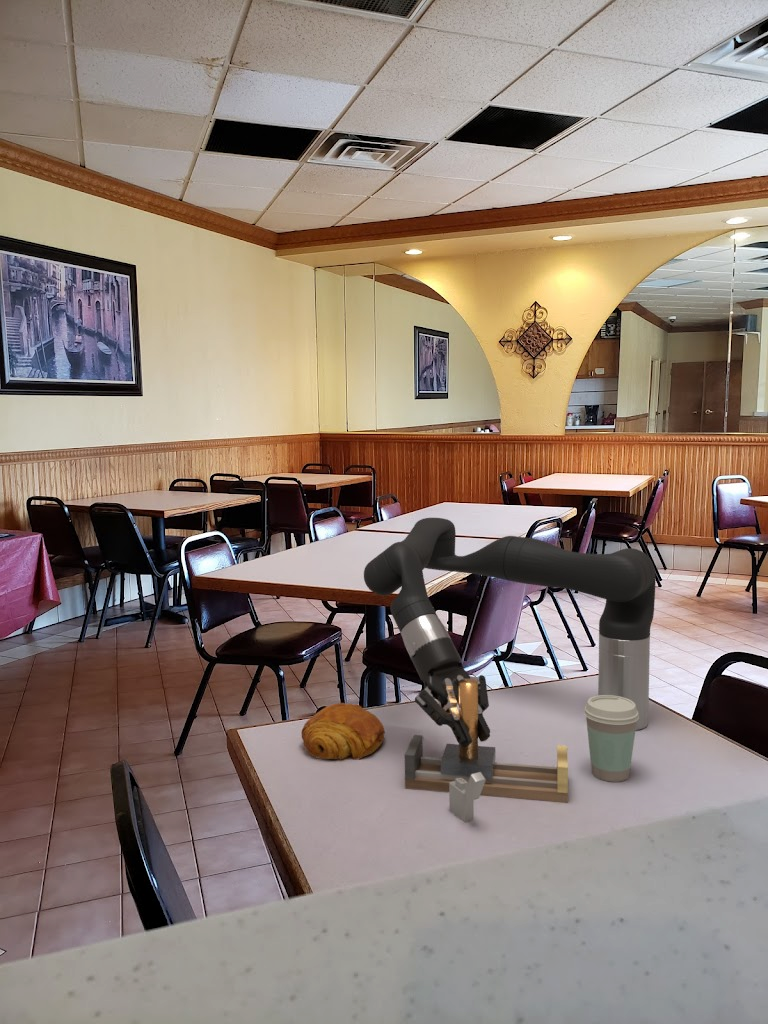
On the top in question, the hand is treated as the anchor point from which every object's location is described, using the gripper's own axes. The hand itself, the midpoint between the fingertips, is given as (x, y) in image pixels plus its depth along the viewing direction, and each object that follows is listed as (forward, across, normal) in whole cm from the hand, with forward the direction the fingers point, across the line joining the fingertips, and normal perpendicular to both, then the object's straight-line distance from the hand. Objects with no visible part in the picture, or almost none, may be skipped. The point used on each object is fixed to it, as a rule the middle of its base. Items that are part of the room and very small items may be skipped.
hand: (476, 741), depth 118 cm
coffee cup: (+12, -21, +1) cm, 24 cm away
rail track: (+5, -2, -5) cm, 8 cm away
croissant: (-12, +9, -24) cm, 29 cm away
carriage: (+2, 0, -5) cm, 5 cm away
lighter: (+10, +8, 0) cm, 13 cm away
